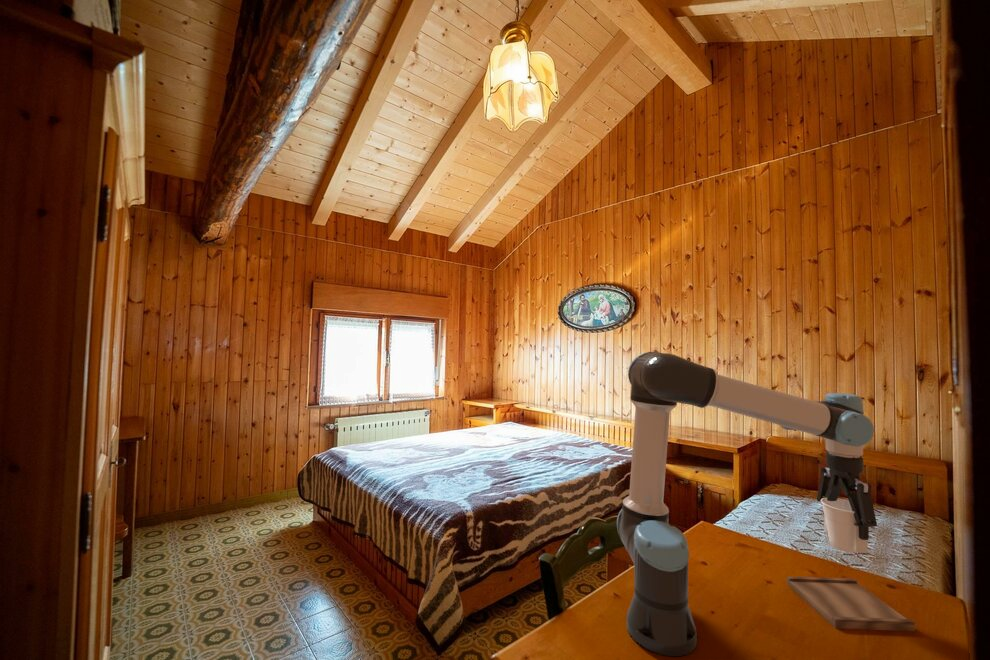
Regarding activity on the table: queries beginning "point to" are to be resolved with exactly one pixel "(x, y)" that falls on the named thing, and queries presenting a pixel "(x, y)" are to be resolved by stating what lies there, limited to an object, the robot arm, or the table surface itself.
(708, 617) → the table surface
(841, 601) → the board
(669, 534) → the robot arm
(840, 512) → the cup
